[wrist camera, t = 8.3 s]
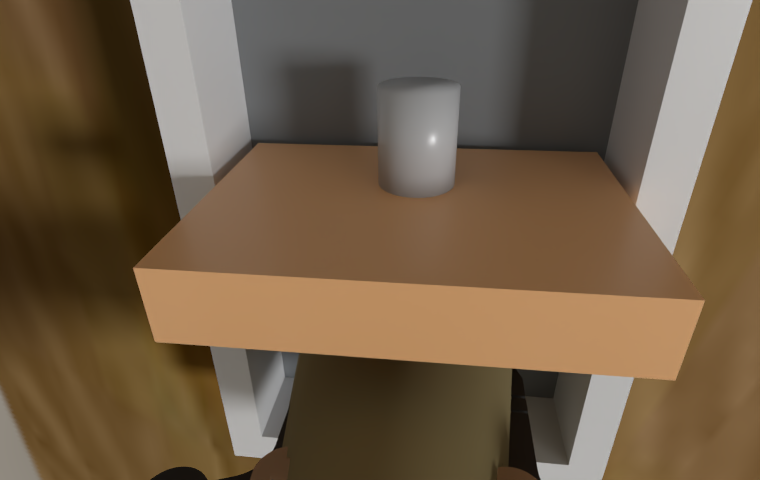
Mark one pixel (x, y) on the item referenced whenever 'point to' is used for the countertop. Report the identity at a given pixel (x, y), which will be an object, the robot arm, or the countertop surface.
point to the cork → (396, 420)
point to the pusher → (424, 254)
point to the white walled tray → (475, 131)
